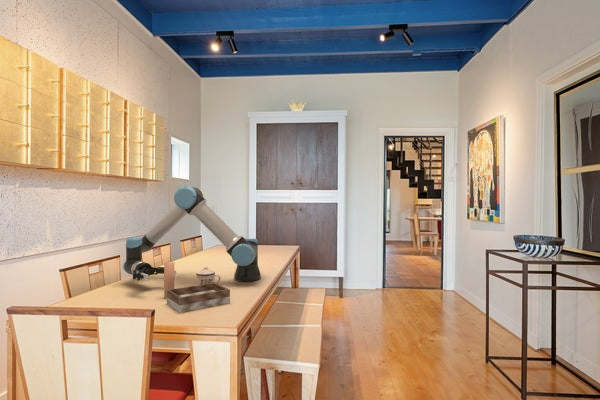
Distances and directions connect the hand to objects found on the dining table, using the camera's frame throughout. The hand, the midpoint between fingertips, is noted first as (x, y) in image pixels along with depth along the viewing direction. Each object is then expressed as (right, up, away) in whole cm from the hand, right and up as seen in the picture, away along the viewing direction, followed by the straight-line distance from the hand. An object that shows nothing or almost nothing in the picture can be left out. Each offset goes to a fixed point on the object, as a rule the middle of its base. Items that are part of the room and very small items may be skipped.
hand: (162, 275), depth 164 cm
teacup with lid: (+19, -10, +10) cm, 24 cm away
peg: (+5, -9, -4) cm, 11 cm away
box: (+21, -9, -13) cm, 26 cm away
